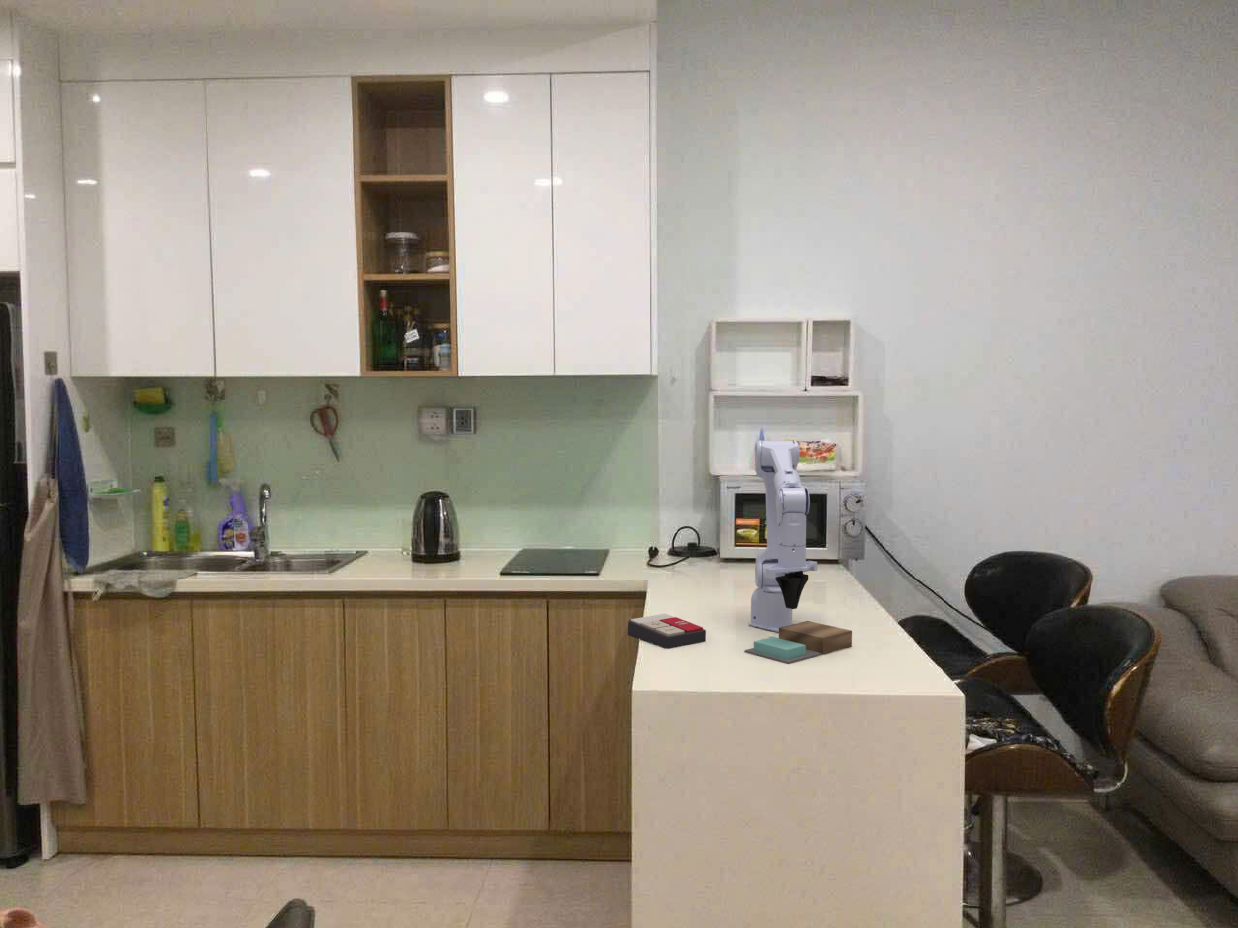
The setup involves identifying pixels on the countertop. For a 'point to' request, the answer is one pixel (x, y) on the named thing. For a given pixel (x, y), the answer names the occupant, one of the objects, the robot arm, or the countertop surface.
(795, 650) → the block
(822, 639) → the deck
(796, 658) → the mat
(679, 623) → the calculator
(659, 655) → the countertop surface
